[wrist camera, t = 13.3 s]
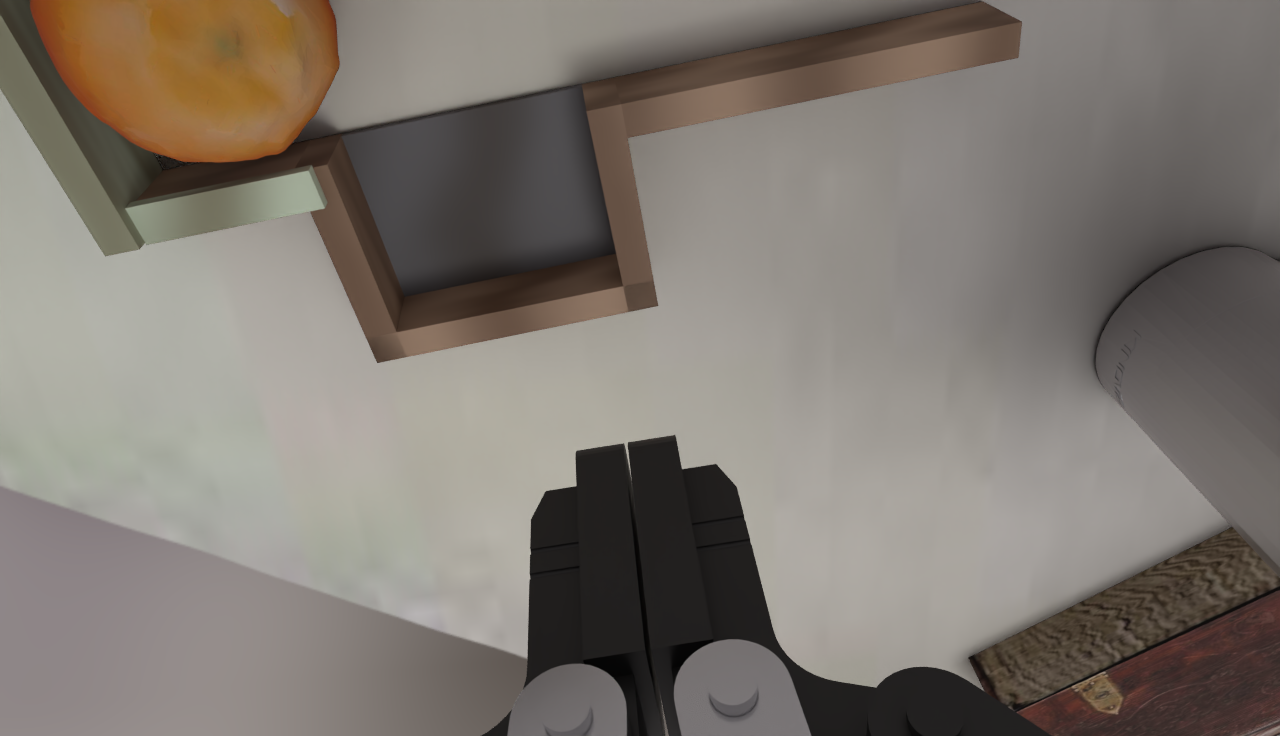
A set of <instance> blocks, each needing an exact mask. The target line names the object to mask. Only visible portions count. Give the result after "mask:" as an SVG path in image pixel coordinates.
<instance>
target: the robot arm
mask: <svg viewBox="0 0 1280 736" xmlns="http://www.w3.org/2000/svg"><path fill="white" fill-rule="evenodd" d="M1096 369H1097V374H1098V378H1099V380H1100V382H1101V383H1102V385H1103V387H1104V388H1105V390H1106V391H1107V392H1108V393H1109V394H1110V395H1111V396H1112V397H1113V398H1114V400H1115V401H1116V402H1117V403H1118V404H1119V405H1120V406H1121V407H1122V408H1123V409H1124V410H1125V411H1126V412H1127V414H1128V415H1129V416H1130V417H1131V418H1132V419H1133V420H1134V421H1135V422H1136V423H1137V424H1138V425H1139V427H1140V428H1141V429H1142V430H1143V431H1144V432H1145V433H1146V434H1147V435H1148V436H1149V437H1150V439H1151V440H1152V441H1153V442H1154V443H1155V444H1156V445H1157V446H1158V447H1159V449H1160V450H1161V451H1162V452H1163V453H1164V454H1165V455H1166V456H1167V457H1168V458H1169V459H1170V460H1171V461H1172V462H1173V464H1174V465H1175V466H1176V467H1177V468H1178V469H1179V470H1180V471H1181V472H1182V473H1183V474H1184V475H1185V476H1186V478H1187V479H1188V480H1189V481H1190V482H1191V483H1192V484H1193V485H1194V486H1195V487H1196V488H1197V489H1198V490H1199V492H1200V493H1201V494H1202V495H1203V496H1204V497H1205V498H1206V499H1207V500H1208V501H1209V502H1210V503H1211V504H1212V505H1213V507H1214V508H1215V509H1216V510H1217V511H1218V512H1219V513H1220V514H1221V515H1222V516H1223V517H1224V518H1225V519H1226V521H1227V522H1228V523H1229V524H1230V525H1231V526H1232V527H1233V528H1234V529H1235V530H1236V531H1237V532H1238V533H1239V535H1240V536H1241V537H1242V538H1243V539H1244V540H1245V541H1246V542H1247V543H1248V544H1249V545H1250V546H1251V547H1252V548H1253V550H1254V551H1255V552H1256V553H1257V554H1258V555H1259V556H1260V557H1261V558H1262V559H1263V560H1264V561H1265V562H1266V564H1267V565H1268V566H1269V567H1270V568H1271V569H1272V570H1273V571H1274V572H1275V573H1276V574H1277V575H1278V576H1279V578H1280V261H1277V260H1275V259H1273V258H1271V257H1269V256H1267V255H1266V254H1264V253H1262V252H1261V251H1258V250H1253V249H1249V248H1245V247H1222V248H1217V249H1211V250H1206V251H1202V252H1199V253H1196V254H1194V255H1191V256H1188V257H1185V258H1183V259H1180V260H1178V261H1177V262H1175V263H1173V264H1171V265H1169V266H1167V267H1165V268H1163V269H1162V270H1160V271H1158V272H1157V273H1156V274H1154V275H1153V276H1152V277H1150V278H1149V279H1147V280H1146V281H1145V282H1143V283H1142V284H1141V285H1140V286H1139V287H1137V288H1136V289H1135V290H1134V291H1133V292H1132V293H1131V294H1130V295H1129V296H1128V297H1127V298H1126V299H1125V300H1124V301H1123V302H1122V304H1121V305H1120V306H1119V307H1118V309H1117V310H1116V311H1115V313H1114V314H1113V315H1112V316H1111V318H1110V320H1109V322H1108V323H1107V325H1106V327H1105V329H1104V331H1103V333H1102V335H1101V338H1100V341H1099V344H1098V347H1097V352H1096ZM628 450H629V459H630V468H631V475H630V470H629V465H628V459H627V454H626V449H625V445H624V443H623V444H617V445H611V446H604V447H598V448H592V449H586V450H579V451H576V481H577V486H576V487H569V488H563V489H557V490H550V491H546V492H545V494H544V496H543V498H542V500H541V502H540V503H539V505H538V507H537V509H536V511H535V513H534V515H533V517H532V519H531V546H530V549H531V555H530V578H531V580H530V585H529V625H528V665H527V677H526V682H525V685H524V688H523V691H522V692H521V693H520V695H519V696H518V698H517V700H516V702H515V703H514V706H513V709H512V710H511V711H510V712H509V714H508V715H507V716H506V717H505V718H504V719H503V720H502V721H501V722H500V723H499V724H498V725H497V726H495V727H494V728H492V729H491V730H490V731H489V732H487V733H485V734H483V735H482V736H665V727H664V719H663V711H662V705H663V710H664V714H665V719H666V724H667V729H668V734H669V736H1052V735H1050V734H1049V733H1047V732H1046V731H1044V730H1042V729H1041V728H1039V727H1038V726H1036V725H1035V724H1033V723H1032V722H1030V721H1029V720H1027V719H1026V718H1024V717H1023V716H1021V715H1019V714H1018V713H1016V712H1015V711H1013V710H1012V709H1010V708H1009V707H1007V706H1006V705H1004V704H1003V703H1001V702H999V701H998V700H996V699H995V698H993V697H992V696H990V695H989V694H987V693H986V692H984V691H983V690H981V689H979V688H978V687H976V686H975V685H973V684H972V683H970V682H969V681H967V680H965V679H964V678H962V677H960V676H958V675H956V674H954V673H951V672H948V671H946V670H942V669H938V668H931V667H913V668H908V669H903V670H901V671H898V672H895V673H893V674H892V675H890V676H888V677H887V678H885V679H884V680H883V681H882V682H881V683H880V684H879V685H878V686H877V688H875V687H868V686H862V685H855V684H849V683H843V682H836V681H832V680H828V679H824V678H821V677H819V676H816V675H814V674H812V673H810V672H808V671H806V670H804V669H803V668H801V667H800V666H799V665H797V664H796V663H795V662H793V661H792V660H791V659H790V658H789V657H788V656H787V655H786V653H785V652H784V651H783V649H782V648H781V647H780V645H779V643H778V641H777V639H776V637H775V634H774V631H773V627H772V624H771V620H770V616H769V612H768V608H767V604H766V600H765V596H764V592H763V588H762V584H761V580H760V577H759V573H758V569H757V565H756V561H755V557H754V553H753V549H752V545H751V543H750V537H749V534H748V530H747V526H746V522H745V520H744V514H743V510H742V506H741V502H740V498H739V494H738V491H737V487H736V486H735V485H734V483H733V482H732V481H731V480H730V479H729V478H728V477H727V476H726V475H725V473H724V472H723V471H722V470H721V469H720V468H719V467H718V466H717V465H716V464H714V465H707V466H701V467H695V468H688V469H682V468H681V463H680V457H679V452H678V446H677V441H676V436H675V435H673V436H666V437H660V438H654V439H647V440H641V441H635V442H628ZM631 477H632V480H631ZM661 700H662V702H661Z"/></svg>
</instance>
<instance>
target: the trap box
mask: <svg viewBox="0 0 1280 736" xmlns="http://www.w3.org/2000/svg"><path fill="white" fill-rule="evenodd" d="M1021 26H1022V22H1021V21H1019V20H1018V19H1016V18H1014V17H1012V16H1010V15H1008V14H1006V13H1004V12H1002V11H1000V10H998V9H996V8H994V7H992V6H991V5H989V4H987V3H985V2H978V3H973V4H968V5H963V6H958V7H954V8H949V9H944V10H939V11H934V12H929V13H925V14H920V15H915V16H910V17H905V18H900V19H895V20H891V21H886V22H881V23H876V24H871V25H866V26H861V27H857V28H852V29H847V30H842V31H837V32H832V33H827V34H823V35H818V36H813V37H808V38H803V39H798V40H793V41H789V42H784V43H779V44H774V45H769V46H764V47H759V48H755V49H750V50H745V51H740V52H735V53H730V54H725V55H721V56H716V57H711V58H706V59H701V60H696V61H691V62H687V63H682V64H677V65H672V66H667V67H662V68H658V69H653V70H648V71H643V72H638V73H633V74H628V75H624V76H619V77H614V78H609V79H604V80H599V81H594V82H590V83H585V84H580V85H575V86H570V87H565V88H560V89H556V90H551V91H546V92H541V93H536V94H531V95H526V96H522V97H517V98H512V99H507V100H502V101H497V102H492V103H488V104H483V105H478V106H473V107H468V108H463V109H458V110H454V111H449V112H444V113H439V114H434V115H429V116H425V117H420V118H415V119H410V120H405V121H400V122H395V123H391V124H386V125H381V126H376V127H371V128H366V129H361V130H357V131H352V132H347V133H342V134H337V135H332V136H327V137H323V138H318V139H313V140H308V141H303V142H298V143H293V144H291V145H290V146H289V147H288V148H287V149H286V150H285V151H283V152H282V153H280V154H276V155H268V156H264V157H261V158H259V159H255V160H244V161H238V162H222V163H215V162H201V163H196V164H191V165H187V166H182V167H177V168H172V169H167V170H162V168H161V166H160V164H159V162H158V160H157V158H156V157H155V155H154V153H153V152H151V151H148V150H145V149H143V148H141V147H139V146H137V145H135V144H134V143H132V142H130V141H129V140H127V139H126V138H124V137H123V136H122V135H121V134H119V133H118V132H117V131H115V130H114V129H113V128H112V127H110V126H109V125H107V124H106V123H104V122H102V121H100V120H99V119H98V118H97V117H95V116H94V115H93V114H92V113H91V112H89V111H88V110H87V109H86V108H85V107H84V106H83V104H82V103H81V102H80V101H79V100H78V99H77V98H76V97H75V96H74V94H73V93H72V92H71V91H70V90H69V88H68V87H67V85H66V84H65V83H64V81H63V80H62V78H61V76H60V75H59V73H58V71H57V70H56V68H55V66H54V64H53V62H52V60H51V58H50V56H49V54H48V52H47V50H46V48H45V46H44V44H43V42H42V39H41V37H40V35H39V32H38V29H37V27H36V24H35V21H34V19H33V16H32V13H31V9H30V0H0V89H1V90H2V92H3V94H4V95H5V97H6V98H7V100H8V102H9V103H10V105H11V106H12V108H13V110H14V111H15V113H16V114H17V116H18V118H19V119H20V121H21V122H22V124H23V126H24V127H25V129H26V130H27V132H28V134H29V135H30V137H31V138H32V140H33V142H34V143H35V145H36V146H37V148H38V150H39V151H40V153H41V154H42V156H43V158H44V159H45V161H46V162H47V164H48V166H49V167H50V169H51V170H52V172H53V174H54V175H55V177H56V178H57V180H58V182H59V183H60V185H61V186H62V188H63V190H64V191H65V193H66V194H67V196H68V198H69V199H70V201H71V202H72V204H73V206H74V207H75V209H76V210H77V212H78V214H79V215H80V217H81V218H82V220H83V222H84V223H85V225H86V226H87V228H88V230H89V231H90V233H91V234H92V236H93V238H94V239H95V241H96V242H97V244H98V246H99V247H100V249H101V250H102V252H103V254H104V255H105V256H109V255H114V254H119V253H124V252H129V251H133V250H138V249H140V248H141V247H142V246H143V244H144V243H146V245H149V244H154V243H159V242H164V241H168V240H173V239H178V238H183V237H188V236H193V235H198V234H203V233H207V232H212V231H217V230H222V229H227V228H232V227H237V226H242V225H246V224H251V223H256V222H261V221H266V220H271V219H276V218H281V217H285V216H290V215H295V214H300V213H305V212H311V214H312V216H313V219H314V221H315V223H316V226H317V228H318V230H319V232H320V235H321V237H322V239H323V241H324V244H325V246H326V248H327V250H328V253H329V255H330V257H331V259H332V262H333V264H334V266H335V268H336V271H337V273H338V275H339V278H340V280H341V282H342V284H343V287H344V289H345V291H346V293H347V296H348V298H349V300H350V302H351V305H352V307H353V309H354V311H355V314H356V316H357V318H358V320H359V323H360V325H361V327H362V330H363V332H364V334H365V336H366V339H367V341H368V343H369V345H370V348H371V350H372V352H373V354H374V357H375V359H376V361H377V363H380V362H384V361H389V360H394V359H399V358H404V357H409V356H414V355H419V354H424V353H429V352H434V351H439V350H443V349H448V348H453V347H458V346H463V345H468V344H473V343H478V342H483V341H488V340H493V339H498V338H503V337H507V336H512V335H517V334H522V333H527V332H532V331H537V330H542V329H547V328H552V327H557V326H562V325H566V324H571V323H576V322H581V321H586V320H591V319H596V318H601V317H606V316H611V315H616V314H621V313H625V312H630V311H635V310H640V309H645V308H650V307H655V306H658V302H657V297H656V292H655V286H654V281H653V275H652V270H651V264H650V259H649V253H648V248H647V242H646V237H645V232H644V226H643V221H642V215H641V210H640V204H639V199H638V193H637V188H636V182H635V177H634V171H633V166H632V161H631V155H630V150H629V144H628V139H627V138H629V137H634V136H639V135H644V134H649V133H654V132H659V131H664V130H668V129H673V128H678V127H683V126H688V125H693V124H698V123H703V122H707V121H712V120H717V119H722V118H727V117H732V116H737V115H741V114H746V113H751V112H756V111H761V110H766V109H771V108H776V107H780V106H785V105H790V104H795V103H800V102H805V101H810V100H815V99H819V98H824V97H829V96H834V95H839V94H844V93H849V92H854V91H858V90H863V89H868V88H873V87H878V86H883V85H888V84H892V83H897V82H902V81H907V80H912V79H917V78H922V77H927V76H931V75H936V74H941V73H946V72H951V71H956V70H961V69H966V68H970V67H975V66H980V65H985V64H990V63H995V62H1000V61H1005V60H1009V59H1014V58H1018V56H1019V46H1020V36H1021Z"/></svg>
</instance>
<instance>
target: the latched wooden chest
mask: <svg viewBox="0 0 1280 736" xmlns="http://www.w3.org/2000/svg"><path fill="white" fill-rule="evenodd" d="M969 660H970V662H971V664H972V666H973V668H974V670H975V672H976V674H977V677H978V679H979V681H980V683H981V685H982V687H983V689H984V691H985V692H986V693H987V694H989V695H990V696H992V697H993V698H995V699H996V700H998V701H999V702H1001V703H1003V704H1004V705H1006V706H1007V707H1009V708H1010V709H1012V710H1013V711H1015V712H1016V713H1018V714H1019V715H1021V716H1023V717H1024V718H1026V719H1027V720H1029V721H1030V722H1032V723H1033V724H1035V725H1036V726H1038V727H1039V728H1041V729H1042V730H1044V731H1046V732H1047V733H1049V734H1050V735H1052V736H1277V735H1280V578H1279V576H1278V575H1277V574H1276V573H1275V572H1274V571H1273V570H1272V569H1271V568H1270V567H1269V566H1268V565H1267V564H1266V562H1265V561H1264V560H1263V559H1262V558H1261V557H1260V556H1259V555H1258V554H1257V553H1256V552H1255V551H1254V550H1253V548H1252V547H1251V546H1250V545H1249V544H1248V543H1247V542H1246V541H1245V540H1244V539H1243V538H1242V537H1241V536H1240V535H1239V533H1238V532H1237V531H1236V530H1235V529H1234V528H1233V527H1232V528H1230V529H1228V530H1226V531H1224V532H1222V533H1220V534H1218V535H1216V536H1214V537H1212V538H1210V539H1208V540H1206V541H1204V542H1202V543H1200V544H1197V545H1195V546H1193V547H1191V548H1189V549H1187V550H1185V551H1183V552H1181V553H1179V554H1177V555H1175V556H1173V557H1171V558H1169V559H1167V560H1165V561H1163V562H1161V563H1159V564H1157V565H1155V566H1153V567H1151V568H1149V569H1147V570H1145V571H1143V572H1141V573H1139V574H1137V575H1135V576H1133V577H1131V578H1129V579H1127V580H1125V581H1123V582H1121V583H1119V584H1117V585H1115V586H1113V587H1111V588H1109V589H1107V590H1105V591H1103V592H1101V593H1099V594H1097V595H1095V596H1093V597H1091V598H1089V599H1087V600H1084V601H1082V602H1080V603H1078V604H1076V605H1074V606H1072V607H1070V608H1068V609H1066V610H1064V611H1062V612H1060V613H1058V614H1056V615H1054V616H1052V617H1050V618H1048V619H1046V620H1044V621H1042V622H1040V623H1038V624H1036V625H1034V626H1032V627H1030V628H1028V629H1026V630H1024V631H1022V632H1020V633H1018V634H1016V635H1014V636H1012V637H1010V638H1008V639H1006V640H1004V641H1002V642H1000V643H998V644H996V645H994V646H992V647H990V648H988V649H986V650H984V651H982V652H980V653H978V654H976V655H973V656H971V657H969Z"/></svg>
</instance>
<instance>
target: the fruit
mask: <svg viewBox="0 0 1280 736" xmlns="http://www.w3.org/2000/svg"><path fill="white" fill-rule="evenodd" d="M30 9H31V13H32V16H33V19H34V21H35V24H36V27H37V29H38V32H39V35H40V37H41V39H42V42H43V44H44V46H45V48H46V50H47V52H48V54H49V56H50V58H51V60H52V62H53V64H54V66H55V68H56V70H57V71H58V73H59V75H60V76H61V78H62V80H63V81H64V83H65V84H66V85H67V87H68V88H69V90H70V91H71V92H72V93H73V94H74V96H75V97H76V98H77V99H78V100H79V101H80V102H81V103H82V104H83V106H84V107H85V108H86V109H87V110H88V111H89V112H91V113H92V114H93V115H94V116H95V117H97V118H98V119H99V120H100V121H102V122H104V123H106V124H107V125H109V126H110V127H112V128H113V129H114V130H115V131H117V132H118V133H119V134H121V135H122V136H123V137H124V138H126V139H127V140H129V141H130V142H132V143H134V144H135V145H137V146H139V147H141V148H143V149H145V150H148V151H151V152H154V153H157V154H160V155H164V156H167V157H170V158H173V159H176V160H179V161H184V162H215V163H222V162H238V161H244V160H255V159H259V158H261V157H264V156H268V155H276V154H280V153H282V152H283V151H285V150H286V149H287V148H288V147H289V146H290V145H291V143H292V142H293V141H294V140H295V139H296V138H297V137H298V136H299V134H300V133H301V131H302V129H303V128H304V127H305V125H306V124H307V123H308V122H309V121H310V120H311V118H312V117H313V116H314V115H315V114H316V112H317V111H318V109H319V107H320V105H321V103H322V101H323V99H324V97H325V95H326V93H327V91H328V89H329V87H330V86H331V84H332V81H333V79H334V77H335V75H336V72H337V71H338V69H339V65H340V61H339V56H338V45H337V27H336V19H335V15H334V13H333V10H332V8H331V5H330V3H329V0H30Z"/></svg>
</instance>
